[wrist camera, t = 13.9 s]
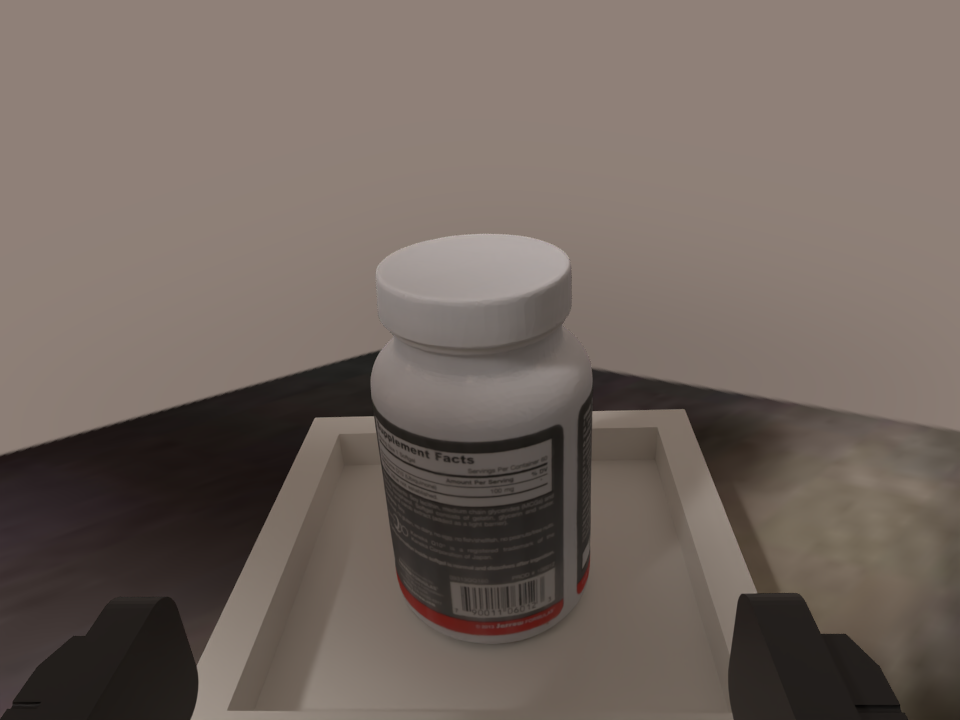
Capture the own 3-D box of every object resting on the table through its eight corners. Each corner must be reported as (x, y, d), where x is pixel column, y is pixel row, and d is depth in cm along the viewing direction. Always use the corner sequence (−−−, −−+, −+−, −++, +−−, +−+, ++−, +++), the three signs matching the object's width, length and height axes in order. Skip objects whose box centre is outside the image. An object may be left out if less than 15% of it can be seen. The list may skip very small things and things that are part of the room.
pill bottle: (477, 494, 25) (458, 216, 21) (624, 559, 22) (639, 246, 18) (357, 595, 21) (303, 277, 17) (515, 690, 18) (500, 329, 14)
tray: (174, 817, 16) (151, 760, 16) (322, 460, 29) (314, 417, 28) (811, 826, 16) (826, 766, 15) (680, 454, 28) (684, 409, 27)
